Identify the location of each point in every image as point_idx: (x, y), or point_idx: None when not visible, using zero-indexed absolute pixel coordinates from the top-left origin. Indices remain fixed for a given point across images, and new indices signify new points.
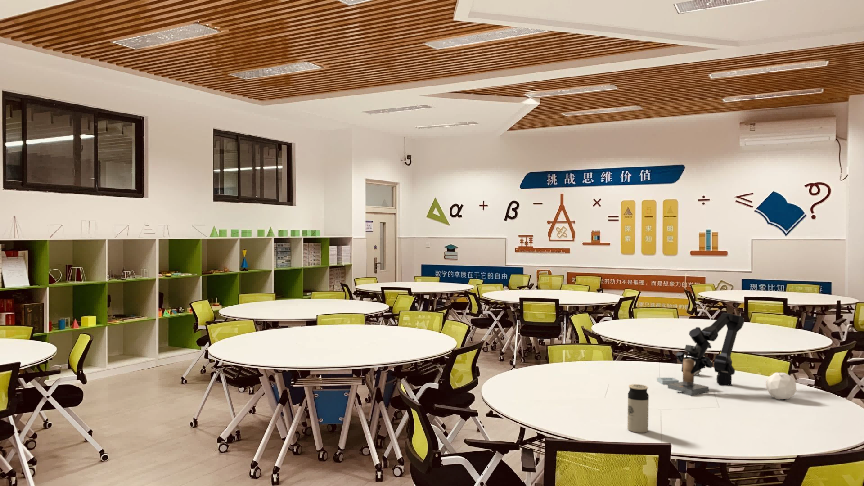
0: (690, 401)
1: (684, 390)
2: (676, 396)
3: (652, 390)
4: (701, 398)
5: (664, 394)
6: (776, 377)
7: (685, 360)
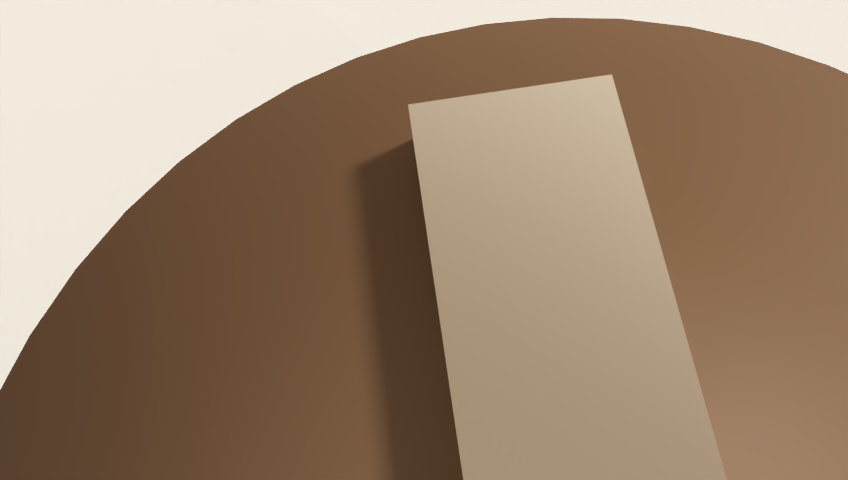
0: (24, 56)
1: None
2: (298, 72)
3: (709, 4)
4: (32, 323)
5: (452, 3)
6: None
7: (461, 39)
